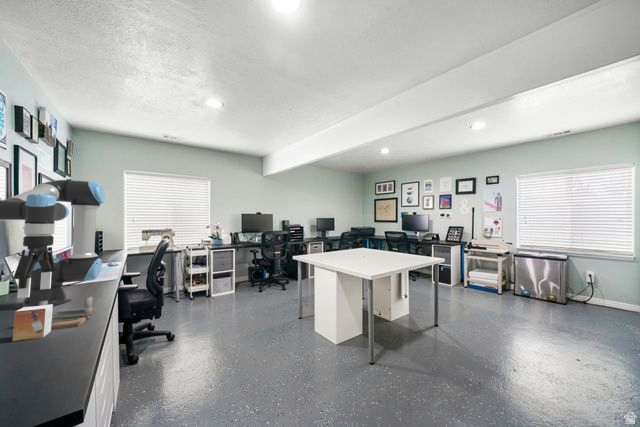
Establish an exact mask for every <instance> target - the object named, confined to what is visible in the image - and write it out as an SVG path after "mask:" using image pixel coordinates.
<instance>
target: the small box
mask: <svg viewBox="0 0 640 427" xmlns="http://www.w3.org/2000/svg"><path fill="white" fill-rule="evenodd" d="M53 307H54V306H53V304H51V305H43V306H33V307H23V306H22V308H20V309H17V310H15V312H14V319H13V320H14V322H13V332H12V342H17V341H23V340H24V341H25V340H32V339H40V338H44V337H46V336H47V335H48V334H50V333H51V331H52V330H51V322H52V315H53V310H54V309H53Z"/></svg>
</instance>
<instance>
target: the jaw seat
mask: <svg viewBox="0 0 640 427" xmlns="http://www.w3.org/2000/svg"><path fill="white" fill-rule="evenodd" d="M93 299H94V298H93V296H86V297H85V298H84V308H80V309H71V310H70V309H69V310H61V311H60V310H59V311H57V312H56V313H54V314H52V322H51V331H52V330H62V329H66V328H67V329H69V328H77V327H79V326H81V325H82V324H83V323H84V322H86V321H87V320H88V319H89V318H90V317H92V316H93V315H94V314H95V313H96V309H93ZM43 305H48V301H41V302H39V306H43Z"/></svg>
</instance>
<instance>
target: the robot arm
mask: <svg viewBox="0 0 640 427" xmlns="http://www.w3.org/2000/svg"><path fill="white" fill-rule="evenodd" d="M63 202H64V203H70V206H71V207H72V208H73V209H74V214H73V215H74V218H73V219H74V220H73V236H72V237H73V239H72V254H71V255H69V256H68V259H65V257H56V258H55V257H54V256H53V255H54V254H53V247H52V246H53V245H54V239H55V238H54V236H53V235H54V234H55V226H56V224H55V222H57V221H63V220H64V219H66V218H67V217H68V216H69V214H70V210H69V208H68V206H66V205H65V204H62V203H63ZM104 203H105V192H104V188H103V185H102V184H101V183H100V182H95V181H87V180H85V181H83V180H72V179H71V180H69V179H57V180H50V181H45V182H42V183H40V184H36V185H35V186H34V187H33V188H32V189H30V190H27V191H24V192H22V193H18V194H16V195H14V196H10V197H8V198H6V199H0V221H9V220H10V221H24V226H23V227H22V229H23V234H24V235H25V236H24V237H23V239H22V240H23V241H22V246H23V247H28V249H22V250H21V255H20V256H21V257H20V259H19V262H18V264H17V266H16V270H15V272H14V276H13V279H14V280H18V282H17V284H18V285H17V297H16V298H17V299H24V298H25V299H24V301H23V302H22V308H23V307H33V306H39V302H41V301H48V305H51V304H53V307H56V306H59V304H60V305H62V303H63V304H65V303H67V298H68V297H67V295H66V294H67V293H66V292H65V290H64V287H63V286H64V285H63V284H64V283H74V282H88V281H93V280H96V279H97V278H98V277H99V275H100V273H101V270H102V265H103V260H102V259H101V258H99V255H98V254H97V253H96V252H95V247H96V246H95V244H96V225H97V224H96V220H97V219H96V218H97V209H99V208H100V207H101V204H104ZM64 302H65V303H64ZM55 305H56V306H55Z"/></svg>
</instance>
